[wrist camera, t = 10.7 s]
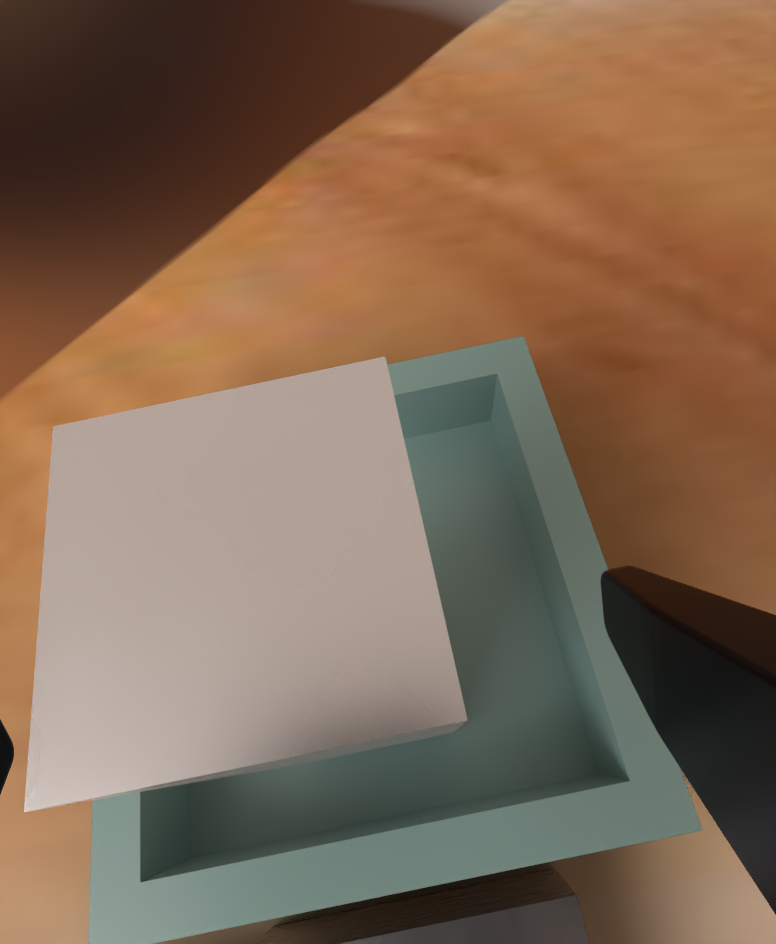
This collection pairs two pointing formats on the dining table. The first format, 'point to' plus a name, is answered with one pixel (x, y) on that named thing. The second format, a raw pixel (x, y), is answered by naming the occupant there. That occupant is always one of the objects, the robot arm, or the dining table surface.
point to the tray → (442, 757)
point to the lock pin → (234, 591)
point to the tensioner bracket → (455, 917)
